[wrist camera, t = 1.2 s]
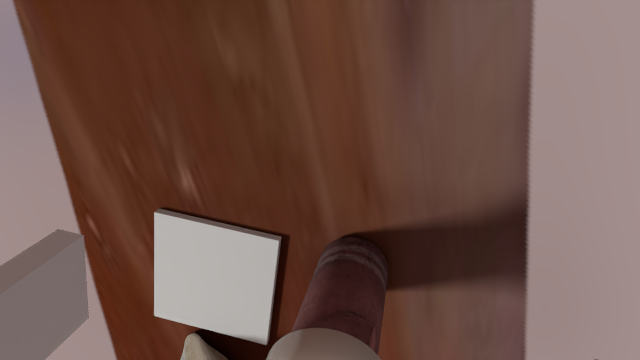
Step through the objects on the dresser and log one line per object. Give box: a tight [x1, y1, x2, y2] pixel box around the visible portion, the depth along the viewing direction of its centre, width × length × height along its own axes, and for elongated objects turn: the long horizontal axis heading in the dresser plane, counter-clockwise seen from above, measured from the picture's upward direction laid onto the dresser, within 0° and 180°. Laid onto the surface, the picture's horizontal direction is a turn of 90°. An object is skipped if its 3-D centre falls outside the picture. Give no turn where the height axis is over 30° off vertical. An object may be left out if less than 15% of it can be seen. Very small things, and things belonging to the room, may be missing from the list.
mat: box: [154, 209, 281, 345], centre depth 46 cm, size 12×12×1 cm
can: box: [291, 237, 388, 355], centre depth 36 cm, size 6×6×14 cm
